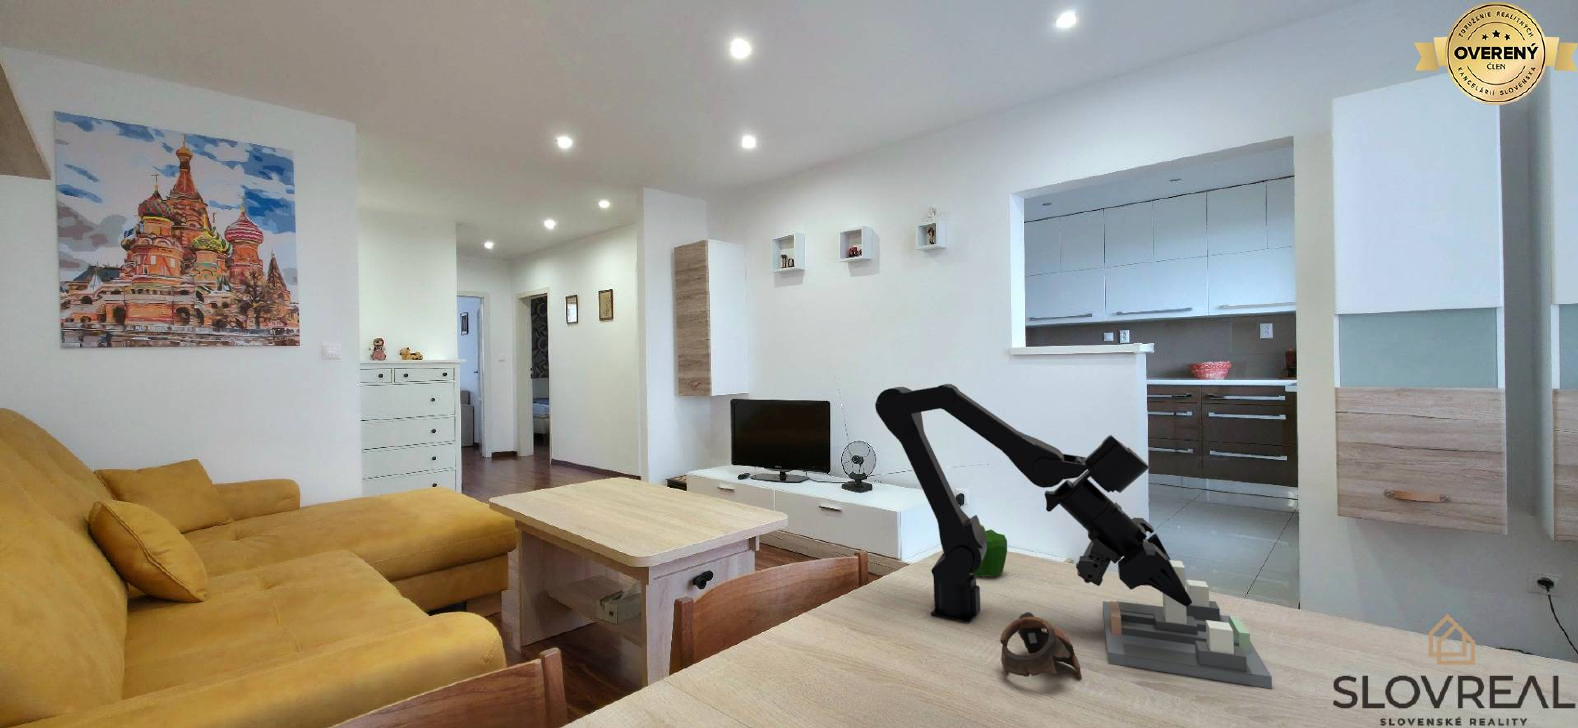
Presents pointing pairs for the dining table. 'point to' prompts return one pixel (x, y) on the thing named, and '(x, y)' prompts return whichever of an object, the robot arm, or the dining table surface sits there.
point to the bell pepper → (993, 555)
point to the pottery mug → (1037, 648)
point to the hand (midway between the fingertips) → (1185, 595)
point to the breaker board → (1184, 641)
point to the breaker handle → (1175, 610)
